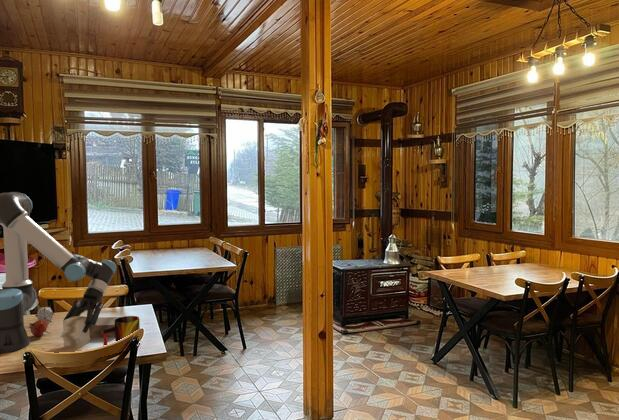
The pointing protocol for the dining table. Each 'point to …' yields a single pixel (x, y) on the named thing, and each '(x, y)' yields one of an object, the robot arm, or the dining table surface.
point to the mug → (123, 327)
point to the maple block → (74, 331)
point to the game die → (45, 314)
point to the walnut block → (102, 327)
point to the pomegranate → (39, 327)
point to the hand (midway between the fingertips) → (70, 338)
